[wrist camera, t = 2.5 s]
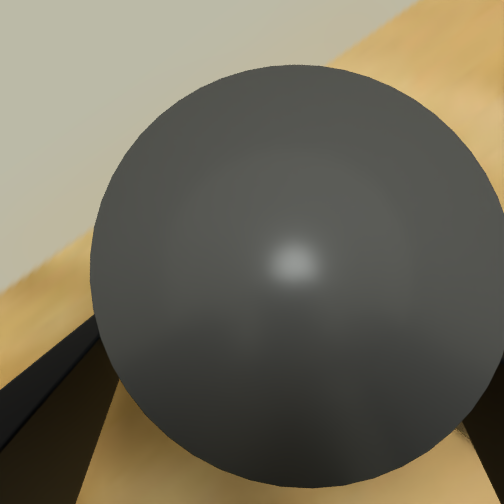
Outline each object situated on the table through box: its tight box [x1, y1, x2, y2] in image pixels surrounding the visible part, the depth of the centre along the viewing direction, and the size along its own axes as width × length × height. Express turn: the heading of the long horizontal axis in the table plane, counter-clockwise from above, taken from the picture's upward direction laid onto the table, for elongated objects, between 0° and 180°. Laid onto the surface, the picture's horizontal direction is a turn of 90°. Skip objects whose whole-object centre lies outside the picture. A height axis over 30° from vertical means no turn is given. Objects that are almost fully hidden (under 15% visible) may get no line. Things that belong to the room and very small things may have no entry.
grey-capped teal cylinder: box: [90, 65, 504, 488], centre depth 11 cm, size 6×6×13 cm
